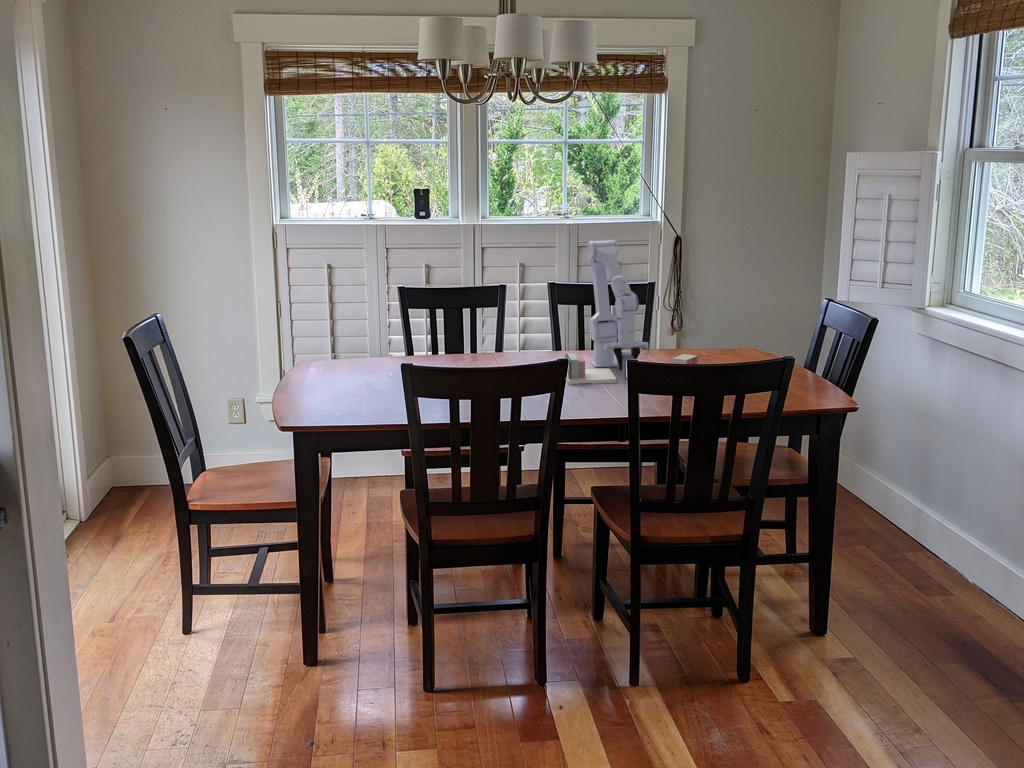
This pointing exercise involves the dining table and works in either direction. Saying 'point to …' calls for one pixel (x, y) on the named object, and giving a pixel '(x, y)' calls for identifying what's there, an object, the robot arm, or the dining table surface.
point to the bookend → (569, 366)
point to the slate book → (624, 358)
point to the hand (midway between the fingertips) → (626, 369)
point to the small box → (685, 359)
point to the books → (577, 366)
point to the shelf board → (595, 377)
